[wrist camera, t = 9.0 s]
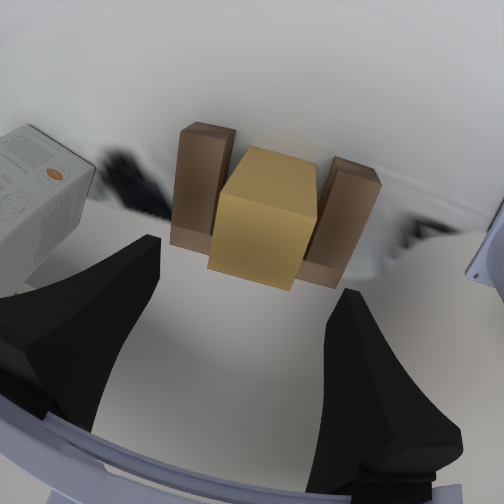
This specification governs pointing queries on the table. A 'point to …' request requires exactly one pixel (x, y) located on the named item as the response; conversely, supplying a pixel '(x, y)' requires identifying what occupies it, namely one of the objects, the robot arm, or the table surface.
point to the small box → (36, 201)
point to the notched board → (328, 212)
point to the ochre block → (265, 218)
